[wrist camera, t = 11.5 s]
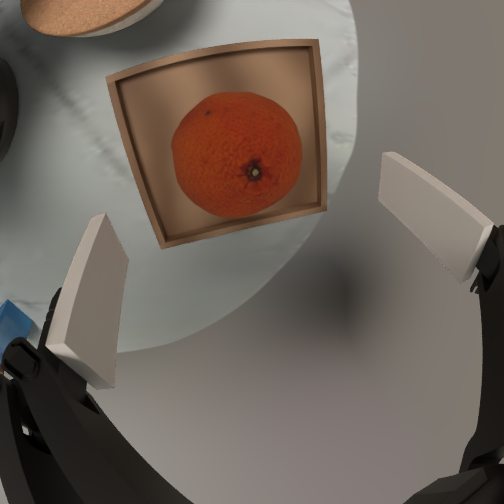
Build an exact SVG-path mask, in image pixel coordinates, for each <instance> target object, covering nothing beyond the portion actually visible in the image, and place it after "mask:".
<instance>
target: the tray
mask: <svg viewBox="0 0 504 504" xmlns="http://www.w3.org/2000/svg"><path fill="white" fill-rule="evenodd" d="M106 81H107V86H108V90H109V94H110V98H111V102H112V106H113V109H114V113H115V117H116V120H117V124H118V127H119V131H120V134H121V138H122V141H123V144H124V148H125V151H126V154H127V157H128V160H129V163H130V166H131V169H132V172H133V175H134V178H135V181H136V184H137V187H138V190H139V193H140V195H141V198H142V201H143V204H144V206H145V209H146V212H147V214H148V217H149V220H150V222H151V225H152V227H153V230H154V232H155V235H156V238H157V240H158V242H159V245H160V247H161V249H165V248H169V247H173V246H177V245H181V244H185V243H189V242H193V241H197V240H201V239H205V238H210V237H214V236H218V235H222V234H226V233H230V232H235V231H239V230H243V229H247V228H252V227H256V226H260V225H265V224H269V223H273V222H278V221H282V220H287V219H291V218H296V217H300V216H305V215H309V214H314V213H319V212H323V211H327V147H326V121H325V104H324V89H323V77H322V66H321V56H320V47H319V39H281V40H264V41H252V42H243V43H235V44H227V45H221V46H214V47H209V48H203V49H198V50H193V51H189V52H184V53H180V54H176V55H172V56H168V57H164V58H160V59H157V60H153V61H150V62H147V63H143V64H140V65H137V66H134V67H131V68H128V69H125V70H123V71H120V72H117V73H114V74H112V75H109V76H107V77H106ZM220 92H252V93H255V94H258V95H261V96H264V97H266V98H269V99H271V100H273V101H275V102H276V103H278V104H279V105H280V106H281V107H283V108H284V109H285V110H286V111H287V112H288V113H289V115H290V116H291V117H292V119H293V120H294V122H295V124H296V125H297V128H298V132H299V135H300V139H301V143H302V162H301V170H300V176H299V178H298V180H297V182H296V184H295V185H294V187H293V188H292V189H291V190H290V191H289V193H288V194H287V195H286V196H285V197H284V198H283V199H281V200H280V201H278V202H276V203H275V204H273V205H272V206H270V207H268V208H266V209H264V210H261V211H260V212H258V213H256V214H253V215H250V216H245V217H240V218H222V217H219V216H215V215H212V214H210V213H208V212H207V211H205V210H203V209H202V208H200V207H199V206H197V205H195V204H194V203H193V202H192V201H191V200H190V199H189V198H188V197H187V196H186V195H185V194H184V192H183V191H182V189H181V188H180V186H179V184H178V182H177V178H176V174H175V169H174V163H173V152H172V149H171V140H172V138H173V135H174V133H175V131H176V129H177V128H178V126H179V124H180V122H181V120H182V119H183V118H184V116H185V115H186V114H187V113H188V112H189V111H190V110H191V109H193V108H194V107H195V106H196V105H197V104H198V103H200V102H201V101H202V100H203V99H205V98H206V97H208V96H210V95H212V94H215V93H220Z"/></svg>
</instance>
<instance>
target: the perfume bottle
mask: <svg viewBox="0 0 504 504" xmlns="http://www.w3.org/2000/svg"><path fill="white" fill-rule="evenodd" d="M32 321H33V320H32V319H30V318H29V317H28V316H27V315H25V314H24V313H23V312H22V311H21V310H20V309H18V308H17V307H16V306H15V305H14V304H13V303H11V302H10V301H9V300H8V299H7V301H6V302H5V303H4V304H3V305H2V306H1V307H0V374H3V375H4V371H5V370H3V369H2V365H1V361H2V356H3V353H4V351H5V348H6V347H7V345H8V344H9V343H10V342H11V341H12V340H13V339H15V338H17V337H24V338H25V339H27V336H28V333H29V330H30V327H31V324H32Z"/></svg>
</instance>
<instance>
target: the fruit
mask: <svg viewBox="0 0 504 504" xmlns="http://www.w3.org/2000/svg"><path fill="white" fill-rule="evenodd" d="M171 149H172V152H173V163H174V169H175V174H176V178H177V182H178V184H179V186H180V188H181V189H182V191H183V192H184V194H185V195H186V196H187V197H188V198H189V199H190V200H191V201H192V202H193V203H194V204H195V205H197V206H199V207H200V208H202V209H203V210H205V211H207V212H208V213H210V214H212V215H215V216H219V217H222V218H240V217H245V216H250V215H253V214H256V213H258V212H260V211H261V210H264V209H266V208H268V207H270V206H272V205H273V204H275V203H276V202H278V201H280V200H281V199H283V198H284V197H285V196H286V195H287V194H288V193H289V191H290V190H291V189H292V188H293V187H294V185H295V184H296V182H297V180H298V178H299V176H300V170H301V162H302V143H301V139H300V135H299V132H298V128H297V125H296V124H295V122H294V120H293V119H292V117H291V116H290V115H289V113H288V112H287V111H286V110H285V109H284V108H283V107H281V106H280V105H279V104H278V103H276V102H275V101H273V100H271V99H269V98H266V97H264V96H261V95H258V94H255V93H252V92H220V93H215V94H212V95H210V96H208V97H206V98H205V99H203V100H202V101H201V102H200V103H198V104H197V105H196V106H195V107H194V108H193V109H191V110H190V111H189V112H188V113H187V114H186V115H185V116H184V118H183V119H182V120H181V122H180V124H179V126H178V128H177V129H176V131H175V133H174V135H173V138H172V140H171Z"/></svg>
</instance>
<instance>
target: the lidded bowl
mask: <svg viewBox="0 0 504 504" xmlns="http://www.w3.org/2000/svg"><path fill="white" fill-rule="evenodd" d="M163 1H164V0H21V10H22V14H23V16H24V19H25V21H26V22H27V23H28V24H29V25H30V27H32V28H33V29H35V30H36V31H38V32H40V33H43V34H46V35H51V36H58V37H92V36H100V35H105V34H109V33H113V32H115V31H118V30H121V29H124V28H126V27H128V26H131V25H133V24H134V23H136V22H138V21H140V20H141V19H143V18H144V17H146V16H147V15H149V14H150V13H151V12H153V11H154V10H155V9H156V8H157V7H158V6H159V5H160V4H161V3H162V2H163Z"/></svg>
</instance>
